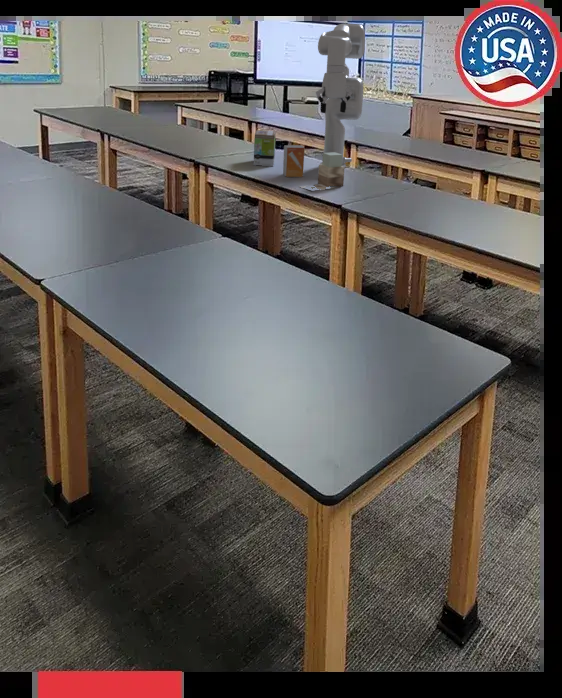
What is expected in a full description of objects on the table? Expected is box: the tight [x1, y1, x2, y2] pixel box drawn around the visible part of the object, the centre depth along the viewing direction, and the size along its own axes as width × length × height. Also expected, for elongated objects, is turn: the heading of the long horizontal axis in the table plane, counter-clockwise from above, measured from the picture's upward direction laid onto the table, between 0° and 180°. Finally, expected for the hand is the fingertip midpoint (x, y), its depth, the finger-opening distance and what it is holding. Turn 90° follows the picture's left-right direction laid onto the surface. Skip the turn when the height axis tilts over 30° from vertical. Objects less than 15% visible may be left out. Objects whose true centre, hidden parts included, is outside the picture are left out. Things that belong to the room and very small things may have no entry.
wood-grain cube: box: [317, 164, 346, 187], centre depth 290 cm, size 8×8×8 cm
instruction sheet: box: [300, 184, 327, 191], centre depth 285 cm, size 12×9×1 cm
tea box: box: [253, 129, 277, 167], centre depth 329 cm, size 15×10×15 cm, turn 179°
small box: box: [282, 144, 305, 178], centre depth 304 cm, size 8×6×13 cm
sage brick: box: [321, 152, 342, 168], centre depth 288 cm, size 6×6×5 cm
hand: (332, 112), depth 292 cm, fingers open, 9 cm apart
